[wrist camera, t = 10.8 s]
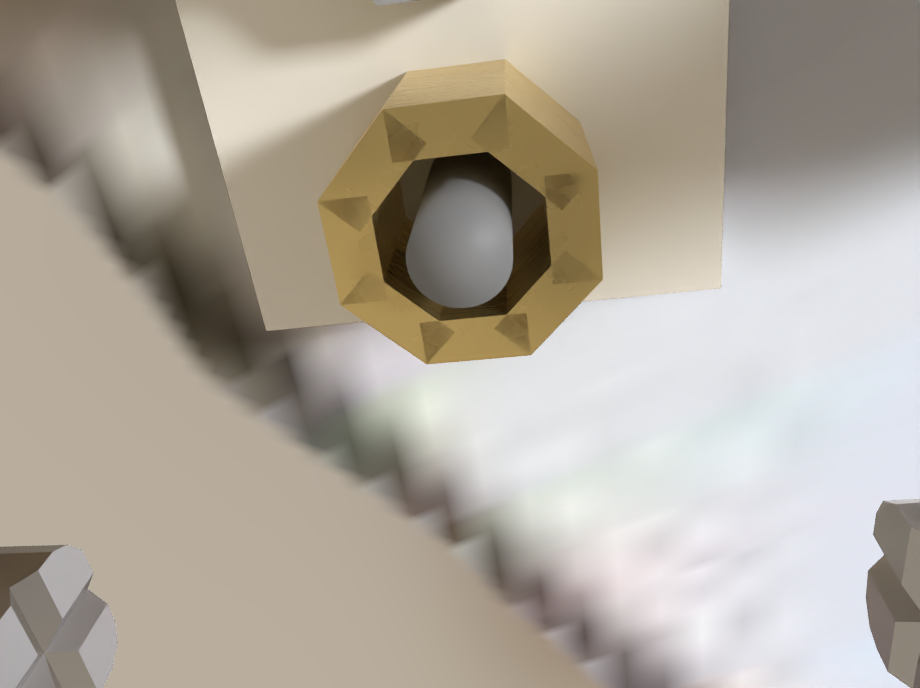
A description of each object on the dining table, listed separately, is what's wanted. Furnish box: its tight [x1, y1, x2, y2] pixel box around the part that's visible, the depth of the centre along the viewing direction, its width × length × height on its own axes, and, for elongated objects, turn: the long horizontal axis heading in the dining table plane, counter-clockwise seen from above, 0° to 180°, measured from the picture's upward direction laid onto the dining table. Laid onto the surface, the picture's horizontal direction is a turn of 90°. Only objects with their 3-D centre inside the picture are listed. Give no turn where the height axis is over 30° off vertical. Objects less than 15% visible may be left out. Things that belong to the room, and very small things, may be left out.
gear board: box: [175, 0, 729, 331], centre depth 16 cm, size 14×12×6 cm
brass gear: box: [317, 59, 603, 364], centre depth 17 cm, size 5×5×4 cm
